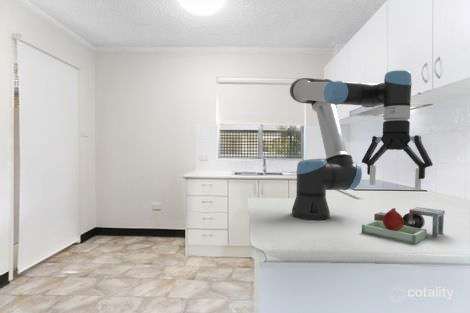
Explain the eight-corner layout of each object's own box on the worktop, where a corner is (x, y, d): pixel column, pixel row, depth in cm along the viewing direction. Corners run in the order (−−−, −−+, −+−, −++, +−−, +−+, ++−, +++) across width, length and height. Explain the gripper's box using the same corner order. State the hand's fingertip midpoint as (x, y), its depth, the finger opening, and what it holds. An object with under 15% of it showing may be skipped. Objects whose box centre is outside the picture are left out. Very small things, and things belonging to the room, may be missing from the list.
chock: (374, 224, 108) (374, 213, 108) (380, 222, 111) (380, 212, 111) (385, 226, 105) (385, 215, 105) (391, 224, 108) (391, 214, 108)
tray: (361, 232, 97) (361, 224, 97) (375, 227, 104) (375, 220, 104) (414, 244, 85) (415, 235, 85) (426, 237, 92) (426, 229, 92)
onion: (386, 234, 92) (385, 209, 92) (381, 230, 98) (380, 206, 98) (406, 235, 91) (406, 209, 91) (400, 231, 96) (399, 206, 97)
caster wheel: (399, 230, 100) (399, 208, 100) (407, 226, 106) (408, 205, 106) (437, 237, 92) (437, 213, 92) (444, 233, 98) (444, 210, 97)
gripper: (352, 121, 100) (350, 183, 101) (439, 117, 82) (436, 193, 83) (362, 123, 105) (360, 182, 106) (446, 119, 87) (443, 190, 88)
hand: (393, 187), depth 94 cm, fingers open, 13 cm apart
